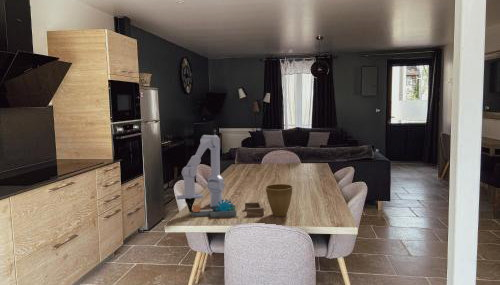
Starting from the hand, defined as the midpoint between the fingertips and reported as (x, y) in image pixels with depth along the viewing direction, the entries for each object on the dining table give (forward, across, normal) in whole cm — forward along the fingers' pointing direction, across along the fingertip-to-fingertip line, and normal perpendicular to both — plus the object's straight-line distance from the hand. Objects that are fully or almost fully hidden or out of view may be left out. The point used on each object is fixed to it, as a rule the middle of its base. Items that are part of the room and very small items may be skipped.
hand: (190, 211), depth 212 cm
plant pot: (+2, +50, -7) cm, 50 cm away
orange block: (+2, +7, 0) cm, 7 cm away
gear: (+2, +20, 0) cm, 20 cm away
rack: (+2, +36, 0) cm, 36 cm away
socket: (+2, +13, 0) cm, 13 cm away
